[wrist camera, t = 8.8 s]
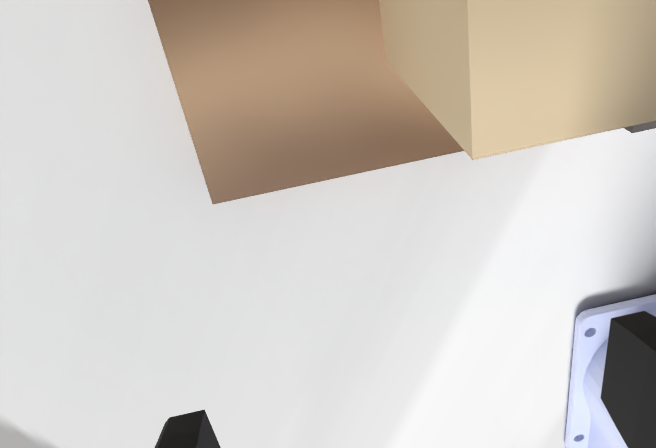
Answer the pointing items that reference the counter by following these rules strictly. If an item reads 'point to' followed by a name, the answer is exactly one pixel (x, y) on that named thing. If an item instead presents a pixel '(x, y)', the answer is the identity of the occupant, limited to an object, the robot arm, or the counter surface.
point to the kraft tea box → (525, 67)
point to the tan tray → (292, 93)
